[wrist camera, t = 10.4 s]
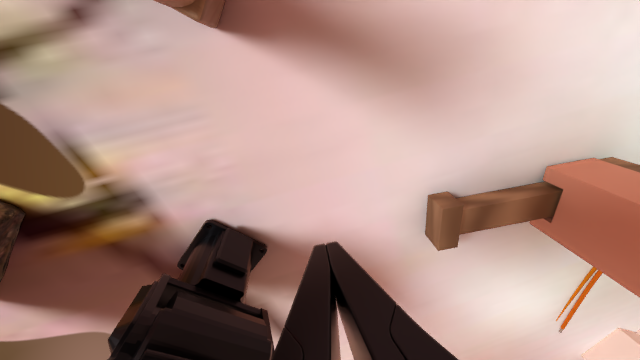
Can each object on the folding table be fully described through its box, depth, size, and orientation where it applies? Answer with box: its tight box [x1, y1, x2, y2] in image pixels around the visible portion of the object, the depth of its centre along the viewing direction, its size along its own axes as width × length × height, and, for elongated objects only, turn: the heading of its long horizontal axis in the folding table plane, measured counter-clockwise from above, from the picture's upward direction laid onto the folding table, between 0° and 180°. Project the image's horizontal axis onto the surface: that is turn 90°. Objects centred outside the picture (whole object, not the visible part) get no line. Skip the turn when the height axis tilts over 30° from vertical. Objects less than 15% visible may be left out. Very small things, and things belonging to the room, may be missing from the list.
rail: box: [425, 157, 640, 251], centre depth 24 cm, size 20×6×5 cm, turn 98°
